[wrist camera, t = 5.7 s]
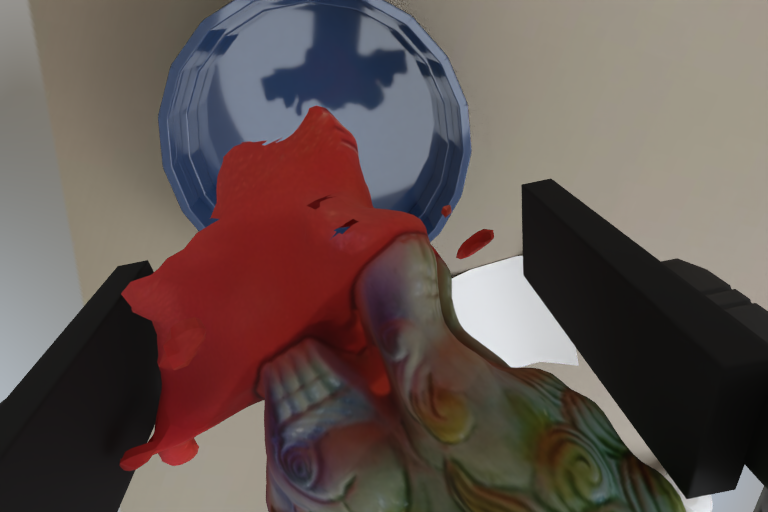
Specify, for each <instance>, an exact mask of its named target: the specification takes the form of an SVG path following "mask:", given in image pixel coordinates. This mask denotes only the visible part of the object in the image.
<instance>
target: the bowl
mask: <svg viewBox="0 0 768 512" xmlns="http://www.w3.org/2000/svg"><path fill="white" fill-rule="evenodd" d="M316 105H317V106H320V107H323V108H326V109H327V110H328V111H329V112H330V113H331V114H332V115H333V116H334V117H335V118H336V119H337V120H338V121H339V122H340V124H342V125H343V126H344V127H345V128H346V129H347V130H349V132H350V133H351V134H352V135H353V136H354V138H355V139H356V143H357V147H358V156H359V161H360V166H361V170H362V173H363V176H364V180H365V182H366V184H367V186H368V189H369V192H370V195H371V201H372V205H373V207H374V208H376V209H388V210H395V211H402V212H406V213H409V214H412V215H414V216H416V217H418V218H419V219H421V221H422V222H423V224H424V225H425V227H426V230H427V234H428V238H429V241H430V242H431V241H432V240H433V239H434V238H435V237H436V236H437V235H438V234H439V233H440V232H441V231H442V229H443V227H444V225H445V224H446V222H447V220H448V218H449V217H450V215H451V214H449V215H448V216H447V217H446V218H445V216H444V215H443V214H442V213H441V211H442V208H443V207H444V206H447V205H450V206H451V213H452V212H453V210H454V208H455V206H456V205H457V203H458V201H459V199H460V198H461V195H462V192H463V188H464V183H465V179H466V174H467V170H468V166H469V161H470V157H471V151H472V149H471V137H470V125H469V113H468V104H467V101H466V99H465V96H464V94H463V91H462V89H461V87H460V84H459V82H458V80H457V77H456V75H455V72H454V70H453V68H452V65H451V63H450V60H449V58H448V57H447V55H446V54H445V53H444V52H443V51H442V49H441V48H440V47H439V46H438V45H437V44H436V43H435V41H434V40H433V39H432V38H431V37H430V36H429V35H428V33H427V32H426V31H425V30H424V29H423V28H422V27H421V26H420V24H419V23H418V22H417V21H416V20H415V19H414V18H413V17H412V16H411V15H410V14H408V13H406V12H404V11H403V10H401V9H399V8H397V7H395V6H394V5H392V4H390V3H388V2H387V1H385V0H233V1H231V2H230V3H228V4H227V5H225V6H224V7H222V8H221V9H219V10H218V11H216V12H215V13H213V14H212V15H210V16H208V17H207V18H205V19H204V20H203V21H202V22H201V23H200V24H199V26H198V27H197V29H196V30H195V31H194V33H193V34H192V36H191V37H190V39H189V40H188V41H187V43H186V44H185V46H184V47H183V49H182V50H181V51H180V53H179V54H178V56H177V57H176V59H175V60H174V61H173V63H172V64H171V67H170V70H169V74H168V78H167V82H166V86H165V90H164V94H163V98H162V102H161V106H160V110H159V114H158V123H159V133H160V143H161V154H162V164H163V169H164V171H165V173H166V176H167V178H168V180H169V182H170V185H171V187H172V189H173V192H174V194H175V196H176V198H177V201H178V203H179V205H180V207H181V210H182V212H183V213H184V214H185V216H186V217H187V218H188V219H189V220H190V221H191V223H192V224H193V225H194V226H195V227H196V228H197V230H198V231H201V230H203V229H204V228H206V227H207V226H209V225H211V224H212V223H214V222H216V221H218V220H219V219H217V218H211V215H212V213H213V210H214V208H215V205H216V203H217V193H216V188H217V177H218V174H219V171H220V168H221V166H222V163H223V157H224V156H225V155H226V154H227V153H228V152H229V151H230V150H231V149H232V148H233V147H234V146H237V145H240V144H242V142H245V143H246V142H249V141H251V142H259V141H266V142H265V143H264V144H262V145H267V144H270V143H272V142H274V141H276V140H278V139H280V140H279V141H283V140H285V139H286V138H288V137H289V136H290V135H292V134H293V133H294V132H295V131H296V129H297V128H298V127H299V125H301V123H302V121H303V120H304V118H305V116H306V115H307V113H308V111H309V108H311V107H314V106H316ZM297 130H298V129H297ZM281 138H282V139H281ZM267 140H268V141H267ZM279 141H277V142H279ZM210 218H211V219H210ZM349 228H350V226H349V227H342V228H337V229H335V230H334V231H336V233H335V234H334V236H336V235H337V234H338V233H340V234H343V233H344V232H345V231H346V230H348V229H349ZM334 236H333V237H334ZM333 237H332V238H333ZM332 238H331V239H332ZM331 239H330V240H331Z"/></svg>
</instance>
